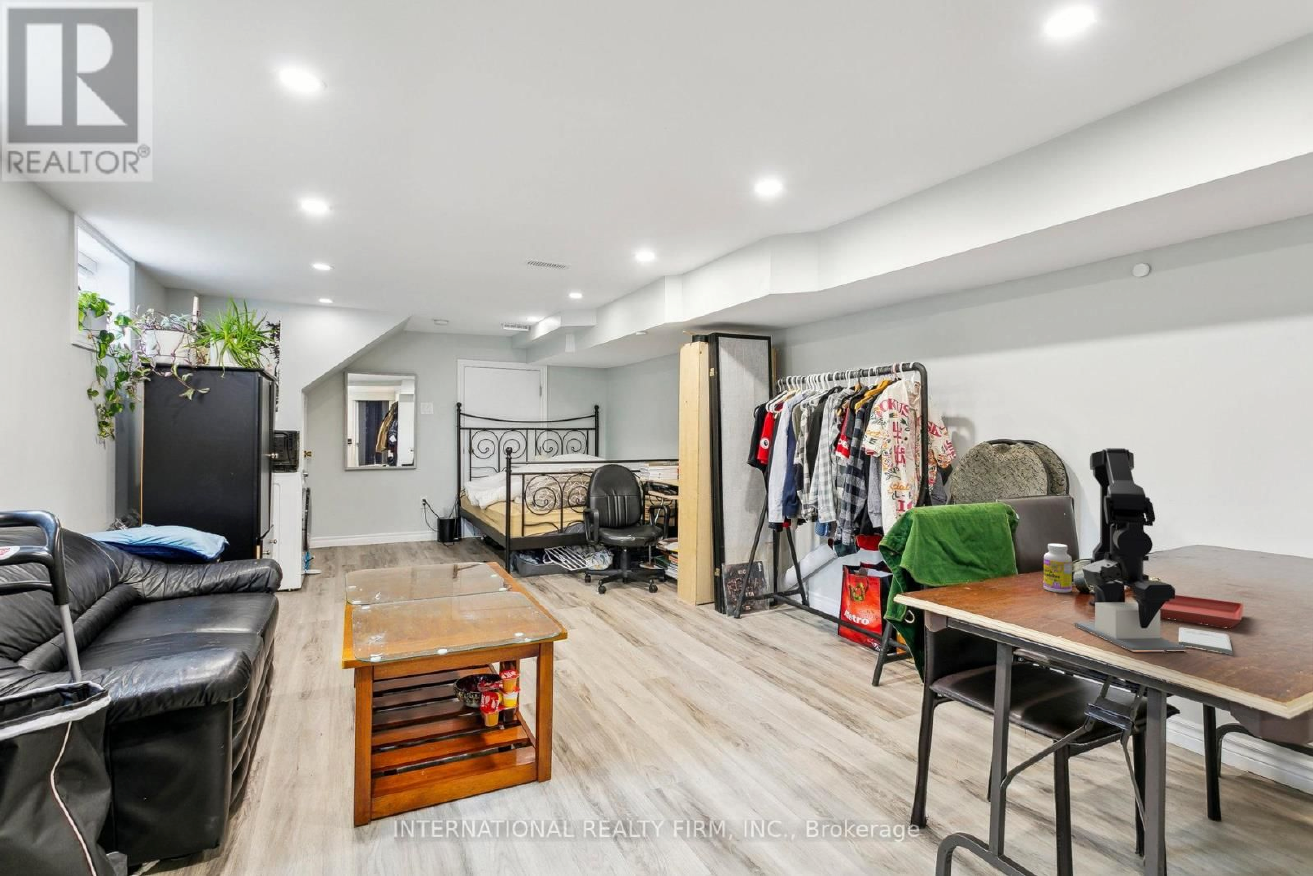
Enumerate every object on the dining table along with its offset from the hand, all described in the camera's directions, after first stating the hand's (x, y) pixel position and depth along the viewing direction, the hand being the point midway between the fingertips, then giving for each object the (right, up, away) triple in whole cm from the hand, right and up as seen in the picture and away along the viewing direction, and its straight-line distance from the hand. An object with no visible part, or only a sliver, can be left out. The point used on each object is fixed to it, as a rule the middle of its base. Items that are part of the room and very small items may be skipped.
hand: (1126, 621), depth 133 cm
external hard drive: (+14, -4, -3) cm, 15 cm away
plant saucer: (+28, -4, +16) cm, 33 cm away
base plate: (0, -4, 0) cm, 4 cm away
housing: (0, -3, 0) cm, 3 cm away
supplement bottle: (+12, -4, +41) cm, 43 cm away
